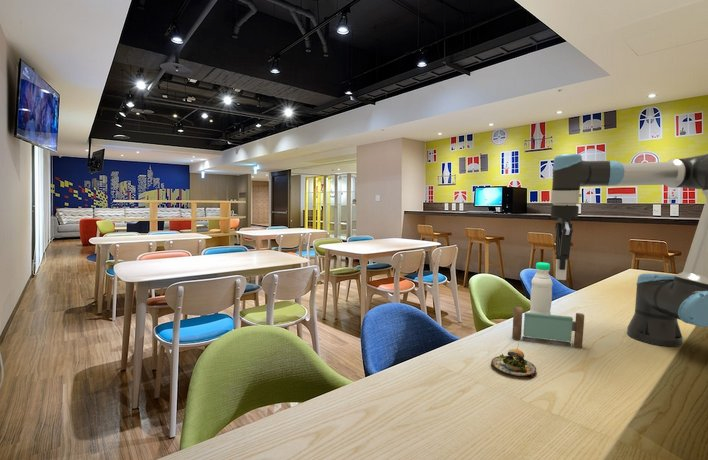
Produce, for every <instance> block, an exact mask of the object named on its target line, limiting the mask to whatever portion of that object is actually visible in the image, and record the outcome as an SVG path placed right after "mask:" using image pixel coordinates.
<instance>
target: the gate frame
mask: <svg viewBox="0 0 708 460" xmlns="http://www.w3.org/2000/svg"><path fill="white" fill-rule="evenodd" d="M523 309H524V308H523V307H521V306H513V317H512V334H511V339H513V340H514V341H523V342H529V343H538V344H546V345H553V346H561V347H568V348H571V347H572V343H571V342H569V341H560V340H552V339H543V338H535V337H527V336H524V335H522V331H523V330H522V326H523ZM584 326H585V314H584V313H580V312H576V313H575V321H574V320H573V321H572V332H574V336H573V347H574V348H578V349H583V340H584V330H585V329H584Z"/></svg>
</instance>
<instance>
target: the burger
mask: <svg viewBox="0 0 708 460" xmlns="http://www.w3.org/2000/svg"><path fill="white" fill-rule="evenodd" d="M519 344H520V343H518V345H517V348H512V349H509V350H508V351H507V355H504V354H503V353H501V354H499V356H495V357H493V358H492V359H491V361H490V364H491V366H494V367H495V368H496V369H497V370H499V371H500V372H503V373H505V374H508V375H511V376H518V377H519V376H520V377H522V376H523V377H526V376H530V379H534V377H537V376H536V375H537V367H536V366H535V364H533V363H532V362H530V361H529V360H527V359H525V353H524V352H523V351H522V350H520V349H519V346H520V345H519Z"/></svg>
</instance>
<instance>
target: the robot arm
mask: <svg viewBox="0 0 708 460" xmlns="http://www.w3.org/2000/svg"><path fill="white" fill-rule="evenodd" d="M551 171H552V182H551V183H552V184H551V185H552V186H551V187H552V188H551V199H550V203H551V204H552V205H551V206H550V217H551V218H557V222H555V224H554V225H555V226H554V229H555V231H554V232H555V246H554V247H555V251H554V255H555V257H554V258H555V260H556V261H555V263H556V264H555V280H559V281H561V280H562V281H566V280H567V269H568V268H567V267H568V259H570V253H571V252H570V250H571V244H572V235H573V232H574V229H573V224H572V222H571V219H574V218H575V219H577V218H579V211H580V206H579V205H578V204H579V202H580V198H582V194H581V193H580V191H581V189H580V188H581V187H613V186H615V187H617V186H619V187H621V186H664V185H665V187H667V188H682V189H683V188H684V189H693V190H701V193H702V194H703V196H704V197H705V198H706V199H705V202H704V205H703V209H702V212H701V214H700V217H699V221H698V224H697V225H696V226H697V227H696V230H695V233H694V236H693V239H692V242H691V246H690V249H689V251H688V255H687V257H686V261H685V265H684V267H683V271H682V272H679V273H677V274H668V273H667V274H666V273H665V274H664V273H641V274H639V275H638V277H637V282H636V293H635V304H634V306H635V307H634V314H633V316H632V318H631V319H630V320H629V321H630V322H629V324H628V325H627V329H626V334H627V335H628V336H629V337H630V338H632V339H635V340H637V341H640V342H643V343H646V344H650V345H651V344H652V345H657V346H663V347H680V346H682V345H683V340H684V338H683V334H682V331H681V328H680V325H679V322H678V320H679V321H682V322H684V323H685V324H689V325H692V326H695V327H699V328H700V327H701V328H708V153H706V154H701V155H695V156H690V157H683V158H672V159H669V160H668V161H664V162H661V161H660V162H659V161H658V162H655V161H654V162H624V163H623V162H620V161H618V160H610V159H609V160H583V156H582V154H581V153H561V154H558V155H556V156H554V159H553V163H552V170H551Z"/></svg>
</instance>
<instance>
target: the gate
mask: <svg viewBox="0 0 708 460" xmlns="http://www.w3.org/2000/svg"><path fill="white" fill-rule="evenodd" d="M523 315H524V318H523V320H524V321H523V334H522V336H526V337H534V338H542V339H550V340H558V341H566V342H570V343H571V342H572V334H573V333H572V332H573V331H572V321H574V320H573V319H574V318H573V317H572V316H568V315H558V314H551V315H548V314H538V313H530V312H528V311H527V312H526V311H525V312H524V314H523Z"/></svg>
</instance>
